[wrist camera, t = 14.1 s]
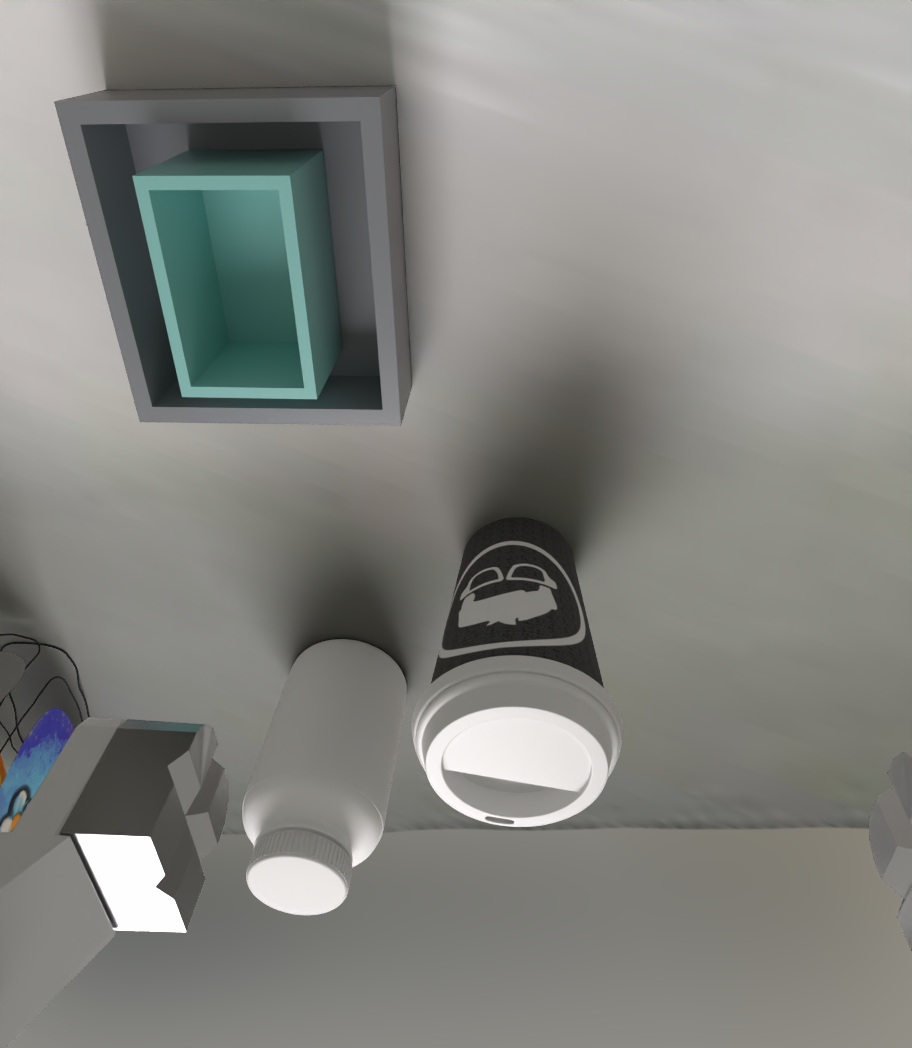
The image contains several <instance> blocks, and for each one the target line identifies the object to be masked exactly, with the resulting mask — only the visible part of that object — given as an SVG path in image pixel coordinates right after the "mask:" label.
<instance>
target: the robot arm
mask: <svg viewBox="0 0 912 1048" xmlns="http://www.w3.org/2000/svg"><path fill="white" fill-rule="evenodd" d="M217 745H218V743H217V740H216V737H215V734H214V731H213V728H212V726H210V725H204V724H190V723H175V722H161V721H146V720H131V719H127V720H126V719H109V718H91V717H88V718H87V719H86V720H84V721H83V722H82V723H81V724H79V725H78V726H77V727H76V728H75V730H74V731H73V733H72V735H71V736H70V738H69V739H68V741H67V743H66V744H65V746H64V748H63V749H62V751H61V752H60V754H59V756H58V757H57V759H56V761H55V762H54V764H53V765H52V767H51V769H50V770H49V772H48V774H47V775H46V777H45V778H44V780H43V782H42V783H41V785H40V787H39V788H38V790H37V791H36V793H35V795H34V796H33V798H32V800H31V801H30V803H29V804H28V806H27V808H26V809H25V811H24V813H23V814H22V816H21V817H20V819H19V821H18V822H17V824H16V826H15V827H14V829H13V830H12V832H0V1048H6V1047H7V1046H8V1045H9V1044H10V1043H11V1042H12V1041H13V1040H14V1039H15V1038H16V1037H17V1036H18V1035H19V1034H20V1033H21V1032H22V1031H23V1030H24V1029H25V1028H26V1027H27V1025H29V1023H30V1022H31V1021H32V1020H33V1019H34V1018H35V1017H36V1016H37V1015H38V1014H39V1013H40V1012H41V1011H42V1010H43V1009H44V1008H45V1007H46V1006H47V1005H48V1004H49V1003H50V1002H51V1001H52V1000H53V999H54V998H55V997H56V995H58V994H59V992H60V991H61V990H62V989H63V988H64V987H65V986H66V985H67V984H68V983H69V982H70V981H71V980H72V979H73V978H74V977H75V976H76V975H77V974H78V973H79V972H80V971H81V970H82V969H83V968H84V967H85V966H86V965H87V963H89V962H90V961H91V960H92V958H93V957H94V956H95V955H96V954H97V953H98V952H99V951H100V950H101V949H102V948H103V947H104V946H105V945H106V944H107V943H108V942H109V941H110V940H111V939H112V938H113V937H114V936H115V931H114V930H134V931H167V932H168V931H169V932H186V931H187V929H188V926H189V923H190V920H191V918H192V915H193V912H194V909H195V907H196V904H197V901H198V898H199V896H200V893H201V890H202V887H203V885H204V882H205V876H204V872H203V869H202V866H201V863H200V860H201V859H202V858H203V857H205V856H206V855H207V854H208V853H209V852H210V851H211V850H213V849H214V848H215V847H216V846H217V845H218V843H219V840H220V837H221V834H222V831H223V828H224V825H225V820H226V814H227V807H228V801H229V794H228V780H227V776H226V772H225V768H223V767H222V766H221V765H220V764H219V763H217V762H216V761H215V760H214V759H213V755H214V753H215V750H216V748H217ZM887 774H888V776H889V778H890V780H891V782H892V785H893V788H891V789H889V790H888V791H886V792H885V793H883V794H882V795H880V796H878V797H877V798H876V800H875V803H874V805H873V808H872V811H871V814H870V816H869V841H870V845H871V850H872V854H873V858H874V861H875V864H876V866H877V869H878V871H879V874H880V877H881V879H882V880H883V881H884V882H885V883H886V884H887V885H888V886H890V887H891V888H892V889H893V890H894V891H895V892H896V893H898V894H899V895H900V896H901V897H902V898H903V901H902V904H901V907H900V909H899V912H898V915H897V918H898V921H899V923H900V925H901V928H902V930H903V933H904V935H905V937H906V940H907V942H908V945H909V947H910V949H911V952H912V752H902V753H901V754H899V755H898V756H896V757H895V758H894V759H893V761H892V763H891V766H890V768H889V770H888V772H887Z"/></svg>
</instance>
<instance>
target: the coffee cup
mask: <svg viewBox="0 0 912 1048" xmlns="http://www.w3.org/2000/svg"><path fill="white" fill-rule="evenodd" d="M412 736H413V742H414V746H415V750H416V753H417V755H418V758H419V760H420V763H421V765H422V767H423V768H424V770H425V772H426V773H427V777H428V779H429V782H430V784H431V786H432V787H433V789H434V790H435V792H436V793H437V794H438V795H439V796H440V797H441V798H442V799H443V800H444V801H445V802H446V803H447V804H448V805H450V806H451V807H453V808H454V809H456V810H457V811H459V812H461V813H463V814H465V815H467V816H469V817H472V818H474V819H477V820H480V821H483V822H487V823H491V824H496V825H502V826H512V827H529V826H539V825H545V824H550V823H554V822H558V821H561V820H564V819H566V818H569V817H571V816H573V815H575V814H577V813H579V812H580V811H582V810H584V809H585V808H586V807H588V806H589V805H590V804H591V803H592V802H593V801H594V800H595V799H596V798H597V797H598V796H599V795H600V793H601V792H602V790H603V788H604V786H605V784H606V781H607V778H608V777H609V775H610V774H611V772H612V771H613V769H614V767H615V764H616V762H617V759H618V757H619V754H620V750H621V745H622V740H623V722H622V717H621V714H620V711H619V709H618V707H617V705H616V703H615V701H614V700H613V698H612V697H611V696H610V694H609V693H608V692H607V691H606V690H605V689H604V686H603V682H602V678H601V674H600V670H599V666H598V662H597V658H596V653H595V649H594V645H593V641H592V637H591V632H590V628H589V624H588V620H587V616H586V611H585V607H584V603H583V598H582V594H581V590H580V586H579V581H578V577H577V573H576V569H575V564H574V560H573V556H572V552H571V549H570V547H569V545H568V543H567V542H566V540H565V539H564V538H563V537H562V536H561V535H560V534H559V533H558V532H557V531H556V530H555V529H553V528H552V527H550V526H548V525H546V524H544V523H542V522H539V521H535V520H531V519H525V518H510V519H504V520H500V521H496V522H494V523H491V524H489V525H487V526H485V527H484V528H482V529H481V530H479V531H478V532H477V533H476V534H475V535H474V536H473V537H472V538H471V539H470V541H469V542H468V544H467V546H466V548H465V551H464V554H463V558H462V562H461V566H460V570H459V574H458V578H457V582H456V587H455V591H454V595H453V599H452V603H451V607H450V611H449V615H448V619H447V623H446V627H445V631H444V635H443V639H442V642H441V646H440V650H439V654H438V658H437V662H436V666H435V670H434V674H433V678H432V681H431V684H430V685H429V686H428V687H427V689H426V690H425V691H424V692H423V694H422V695H421V696H420V698H419V700H418V702H417V704H416V706H415V708H414V712H413V716H412Z"/></svg>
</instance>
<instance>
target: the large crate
mask: <svg viewBox="0 0 912 1048" xmlns="http://www.w3.org/2000/svg"><path fill="white" fill-rule="evenodd" d="M54 103H55V107H56V110H57V114H58V118H59V122H60V125H61V129H62V133H63V136H64V140H65V144H66V148H67V151H68V155H69V159H70V163H71V166H72V170H73V174H74V178H75V181H76V185H77V189H78V193H79V196H80V200H81V204H82V208H83V211H84V215H85V219H86V222H87V226H88V230H89V234H90V237H91V241H92V245H93V249H94V252H95V256H96V260H97V264H98V267H99V271H100V275H101V279H102V282H103V286H104V290H105V293H106V297H107V301H108V305H109V308H110V312H111V316H112V320H113V323H114V327H115V331H116V335H117V338H118V342H119V346H120V350H121V353H122V357H123V361H124V365H125V368H126V372H127V376H128V379H129V383H130V387H131V391H132V394H133V398H134V402H135V406H136V409H137V413H138V417H139V421H140V422H178V423H248V424H318V425H389V426H401V423H402V420H403V416H404V413H405V409H406V406H407V402H408V399H409V395H410V392H411V388H412V377H411V359H410V340H409V322H408V303H407V285H406V266H405V248H404V229H403V211H402V192H401V174H400V155H399V137H398V118H397V100H396V86H331V87H266V88H202V89H137V90H103V91H99V92H94V93H90V94H86V95H81V96H77V97H72V98H68V99H64V100H59V101H55V102H54ZM298 149H324V158H325V168H326V179H327V189H328V199H329V209H330V219H331V230H332V240H333V250H334V260H335V270H336V281H337V291H338V301H339V311H340V321H341V332H342V342H343V349H342V351H341V353H340V355H339V357H338V359H337V361H336V363H335V365H334V367H333V369H332V371H331V373H330V375H329V377H328V379H327V381H326V383H325V385H324V387H323V389H322V391H321V393H320V395H319V397H318V398H317V399H266V398H207V397H182V395H181V390H180V386H179V381H178V377H177V373H176V368H175V364H174V359H173V355H172V350H171V346H170V341H169V337H168V333H167V328H166V324H165V319H164V315H163V310H162V306H161V301H160V297H159V293H158V288H157V284H156V279H155V275H154V270H153V266H152V261H151V257H150V252H149V248H148V244H147V239H146V235H145V230H144V226H143V221H142V217H141V212H140V208H139V204H138V199H137V195H136V190H135V186H134V181H133V177H132V176H133V175H135V174H138V173H140V172H142V171H144V170H146V169H148V168H151V167H153V166H155V165H157V164H159V163H161V162H163V161H166V160H168V159H170V158H172V157H174V156H176V155H179V154H181V153H183V152H185V151H187V150H298Z"/></svg>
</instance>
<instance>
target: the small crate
mask: <svg viewBox="0 0 912 1048" xmlns="http://www.w3.org/2000/svg"><path fill="white" fill-rule="evenodd" d="M132 177H133V181H134V186H135V190H136V195H137V199H138V204H139V208H140V212H141V217H142V221H143V226H144V230H145V235H146V239H147V244H148V248H149V252H150V257H151V261H152V266H153V270H154V275H155V279H156V284H157V288H158V293H159V297H160V301H161V306H162V310H163V315H164V319H165V324H166V328H167V333H168V337H169V341H170V346H171V350H172V355H173V359H174V364H175V368H176V373H177V377H178V381H179V386H180V390H181V395H182V397H207V398H266V399H317V398H318V397H319V395H320V393H321V391H322V389H323V387H324V385H325V383H326V381H327V379H328V377H329V375H330V373H331V371H332V369H333V367H334V365H335V363H336V361H337V359H338V357H339V355H340V353H341V351H342V349H343V342H342V332H341V321H340V311H339V301H338V291H337V281H336V270H335V260H334V250H333V240H332V230H331V219H330V209H329V199H328V189H327V179H326V168H325V158H324V149H298V150H187V151H185V152H183V153H181V154H179V155H176V156H174V157H172V158H170V159H168V160H166V161H163V162H161V163H159V164H157V165H155V166H153V167H151V168H148V169H146V170H144V171H142V172H140V173H138V174H135V175H133V176H132Z"/></svg>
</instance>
